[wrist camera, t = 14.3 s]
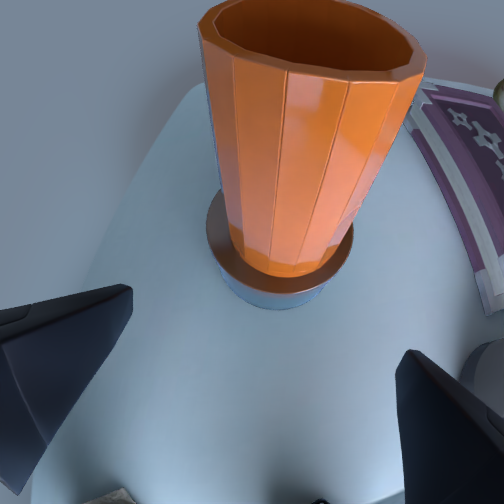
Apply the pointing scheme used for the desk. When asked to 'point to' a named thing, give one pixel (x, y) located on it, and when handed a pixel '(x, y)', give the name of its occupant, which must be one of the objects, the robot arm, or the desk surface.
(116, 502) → the condiment
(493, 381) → the media streaming box
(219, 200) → the jar
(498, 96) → the fruit
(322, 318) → the desk surface
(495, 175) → the book
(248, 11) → the cup
